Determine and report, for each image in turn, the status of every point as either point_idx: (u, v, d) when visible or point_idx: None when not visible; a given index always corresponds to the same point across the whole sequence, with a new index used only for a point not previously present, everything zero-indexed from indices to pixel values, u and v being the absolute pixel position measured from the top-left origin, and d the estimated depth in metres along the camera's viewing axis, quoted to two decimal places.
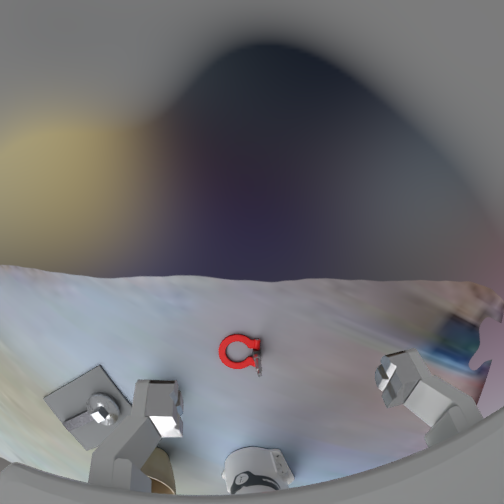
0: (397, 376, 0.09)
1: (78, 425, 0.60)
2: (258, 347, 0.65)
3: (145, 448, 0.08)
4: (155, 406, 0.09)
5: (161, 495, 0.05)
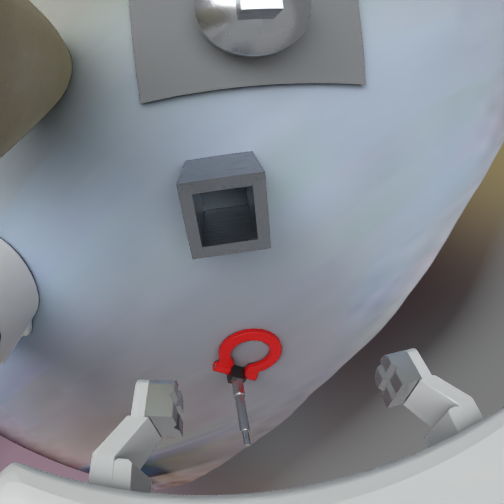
0: (397, 376, 0.09)
1: None
2: None
3: (145, 448, 0.08)
4: (155, 406, 0.09)
5: (161, 496, 0.05)
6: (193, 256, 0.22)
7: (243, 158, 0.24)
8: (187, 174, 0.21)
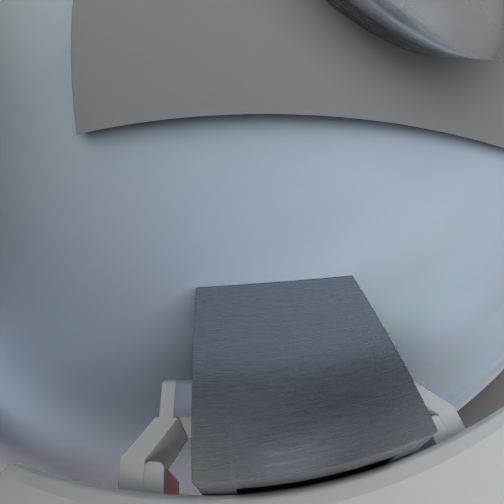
0: None
1: None
2: None
3: (173, 449, 0.08)
4: (184, 406, 0.09)
5: (161, 496, 0.05)
6: None
7: (350, 320, 0.09)
8: (213, 403, 0.07)
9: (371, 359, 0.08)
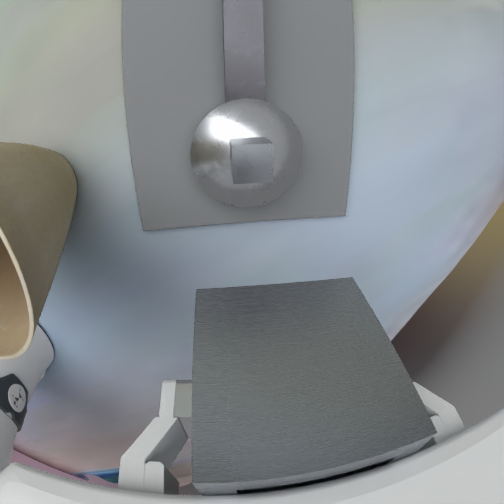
0: None
1: (230, 15, 0.17)
2: None
3: (173, 449, 0.08)
4: (184, 406, 0.09)
5: (161, 495, 0.05)
6: None
7: (350, 322, 0.09)
8: (213, 404, 0.07)
9: (371, 361, 0.08)
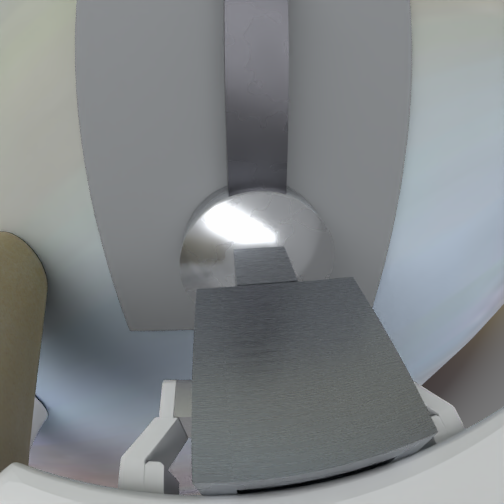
0: None
1: (235, 51, 0.11)
2: None
3: (173, 449, 0.08)
4: (184, 406, 0.09)
5: (161, 495, 0.05)
6: None
7: (350, 321, 0.09)
8: (213, 404, 0.07)
9: (371, 360, 0.08)
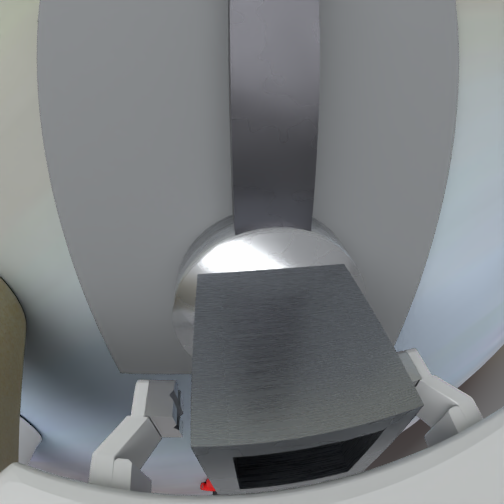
0: None
1: (245, 34, 0.08)
2: None
3: (145, 448, 0.08)
4: (155, 406, 0.09)
5: (161, 496, 0.05)
6: (220, 493, 0.09)
7: (340, 303, 0.10)
8: (212, 375, 0.07)
9: (360, 338, 0.09)
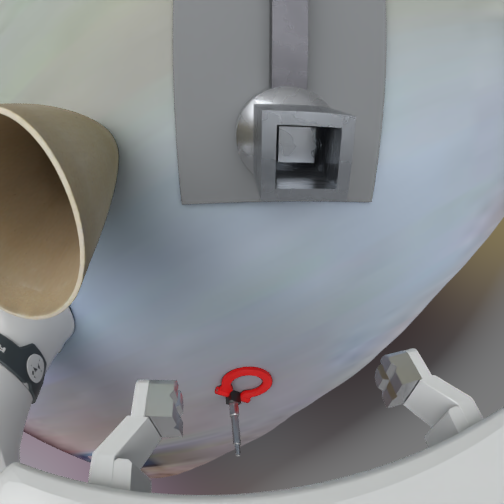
0: (397, 376, 0.09)
1: (278, 9, 0.18)
2: None
3: (145, 448, 0.08)
4: (155, 406, 0.09)
5: (161, 495, 0.05)
6: (262, 198, 0.19)
7: (320, 108, 0.20)
8: (267, 107, 0.18)
9: (328, 110, 0.19)
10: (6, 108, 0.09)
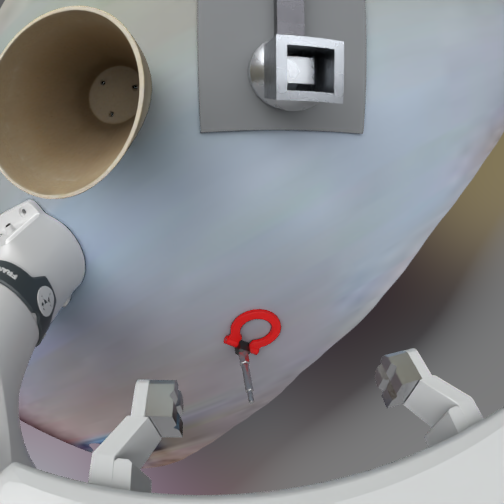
0: (397, 376, 0.09)
1: None
2: None
3: (145, 448, 0.08)
4: (155, 406, 0.09)
5: (161, 495, 0.05)
6: (277, 97, 0.22)
7: None
8: None
9: None
10: (92, 7, 0.12)
